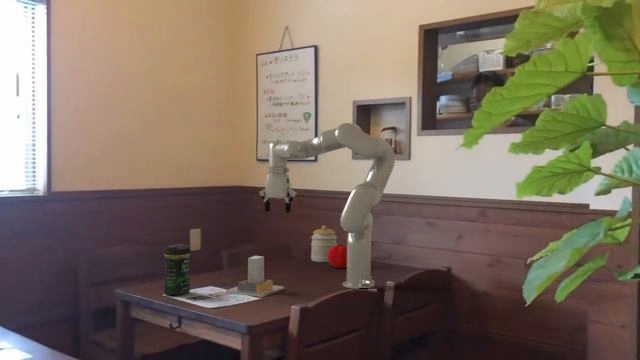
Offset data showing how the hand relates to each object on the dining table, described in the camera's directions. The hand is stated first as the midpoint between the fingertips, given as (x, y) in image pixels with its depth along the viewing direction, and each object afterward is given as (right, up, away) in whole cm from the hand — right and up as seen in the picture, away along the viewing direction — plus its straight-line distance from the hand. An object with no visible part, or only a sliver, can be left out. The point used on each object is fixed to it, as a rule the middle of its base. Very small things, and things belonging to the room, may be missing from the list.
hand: (277, 212), depth 257 cm
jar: (+20, -27, +50) cm, 60 cm away
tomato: (+28, -28, +30) cm, 49 cm away
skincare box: (-7, -28, -23) cm, 37 cm away
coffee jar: (-35, -29, -29) cm, 54 cm away
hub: (-7, -29, -23) cm, 38 cm away
